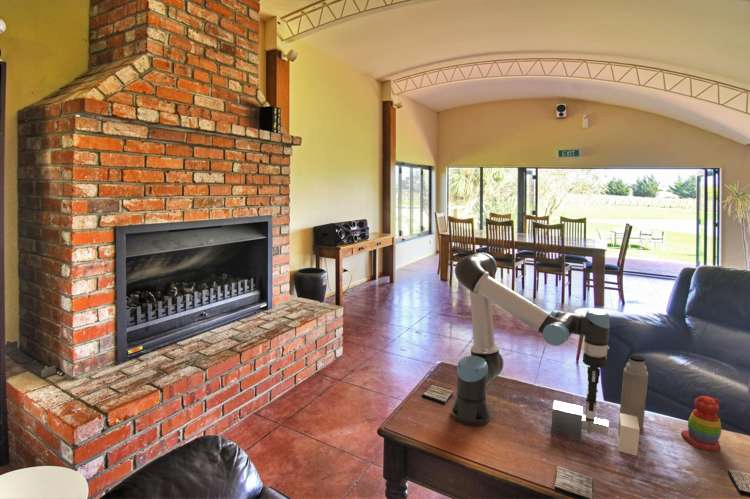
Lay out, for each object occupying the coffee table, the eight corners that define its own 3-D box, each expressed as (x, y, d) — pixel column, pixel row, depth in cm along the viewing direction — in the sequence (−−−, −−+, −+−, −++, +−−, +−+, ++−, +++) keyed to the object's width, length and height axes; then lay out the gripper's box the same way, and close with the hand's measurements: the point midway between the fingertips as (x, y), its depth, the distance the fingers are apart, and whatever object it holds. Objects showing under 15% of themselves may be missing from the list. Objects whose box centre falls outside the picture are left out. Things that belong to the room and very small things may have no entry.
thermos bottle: (637, 420, 164) (644, 353, 160) (646, 432, 156) (653, 362, 152) (615, 418, 166) (621, 352, 161) (623, 430, 158) (629, 360, 154)
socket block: (618, 451, 145) (620, 425, 144) (617, 437, 153) (619, 412, 152) (636, 455, 143) (639, 429, 141) (634, 441, 151) (637, 416, 149)
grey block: (551, 432, 156) (552, 408, 155) (552, 423, 162) (554, 400, 161) (580, 440, 152) (582, 415, 150) (581, 430, 158) (582, 406, 156)
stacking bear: (713, 437, 153) (719, 392, 150) (726, 454, 144) (733, 406, 141) (679, 432, 156) (684, 388, 154) (689, 448, 147) (695, 401, 144)
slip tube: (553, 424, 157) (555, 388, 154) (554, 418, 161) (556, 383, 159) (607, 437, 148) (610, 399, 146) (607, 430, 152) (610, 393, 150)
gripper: (607, 365, 139) (602, 429, 142) (606, 346, 156) (601, 403, 159) (582, 361, 142) (577, 423, 145) (583, 342, 159) (579, 399, 162)
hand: (590, 413), depth 152 cm, fingers open, 6 cm apart
